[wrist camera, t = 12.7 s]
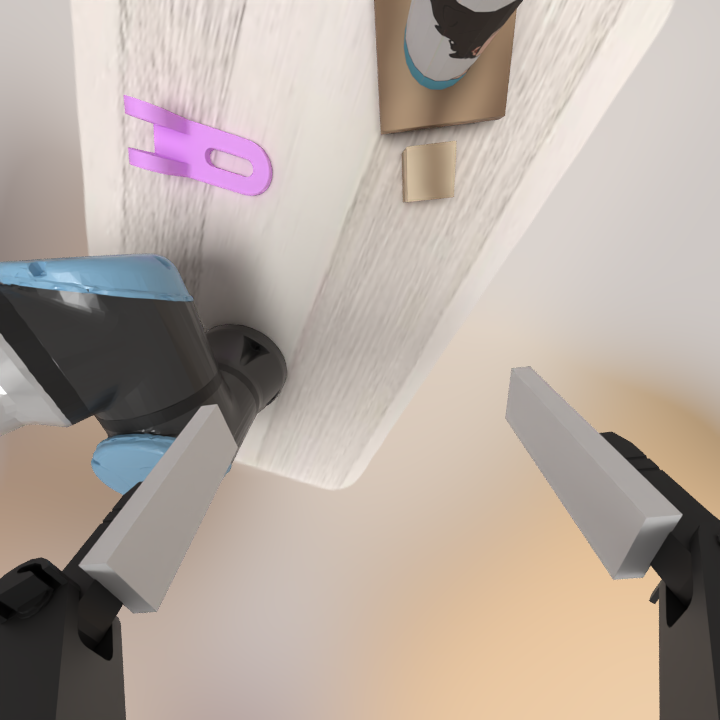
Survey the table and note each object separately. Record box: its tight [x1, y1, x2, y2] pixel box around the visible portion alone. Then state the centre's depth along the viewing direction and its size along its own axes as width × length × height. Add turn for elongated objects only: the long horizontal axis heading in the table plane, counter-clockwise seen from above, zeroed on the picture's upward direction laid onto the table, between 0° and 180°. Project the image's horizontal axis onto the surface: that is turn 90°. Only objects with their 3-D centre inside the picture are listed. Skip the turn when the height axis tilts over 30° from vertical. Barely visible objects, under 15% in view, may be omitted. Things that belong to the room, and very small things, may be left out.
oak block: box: [402, 141, 456, 202], centre depth 33 cm, size 5×5×5 cm
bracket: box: [124, 95, 272, 195], centre depth 32 cm, size 13×6×7 cm, turn 74°
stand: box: [374, 0, 517, 134], centre depth 28 cm, size 12×12×5 cm
